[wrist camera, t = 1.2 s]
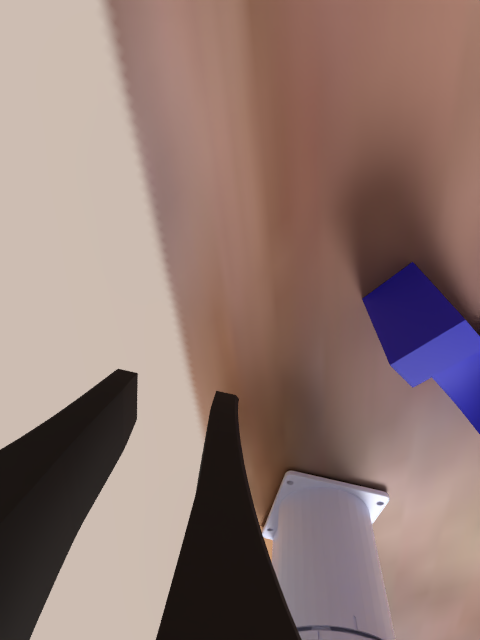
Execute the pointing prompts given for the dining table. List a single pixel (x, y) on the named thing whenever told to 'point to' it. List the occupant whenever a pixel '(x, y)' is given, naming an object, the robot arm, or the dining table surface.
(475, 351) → the cable clip
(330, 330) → the dining table surface
